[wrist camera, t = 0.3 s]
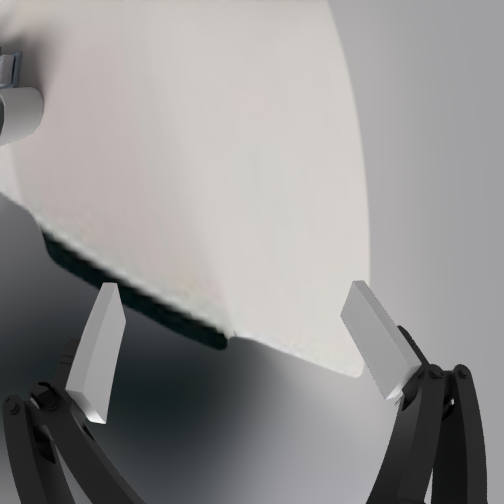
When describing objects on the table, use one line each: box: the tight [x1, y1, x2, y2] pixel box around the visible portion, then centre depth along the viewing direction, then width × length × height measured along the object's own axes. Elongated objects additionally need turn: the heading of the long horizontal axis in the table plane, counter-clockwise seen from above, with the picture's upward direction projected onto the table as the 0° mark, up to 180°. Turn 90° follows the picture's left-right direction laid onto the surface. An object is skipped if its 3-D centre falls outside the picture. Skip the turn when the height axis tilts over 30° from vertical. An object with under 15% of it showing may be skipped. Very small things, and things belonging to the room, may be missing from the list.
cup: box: [0, 87, 44, 146], centre depth 22 cm, size 8×8×10 cm
